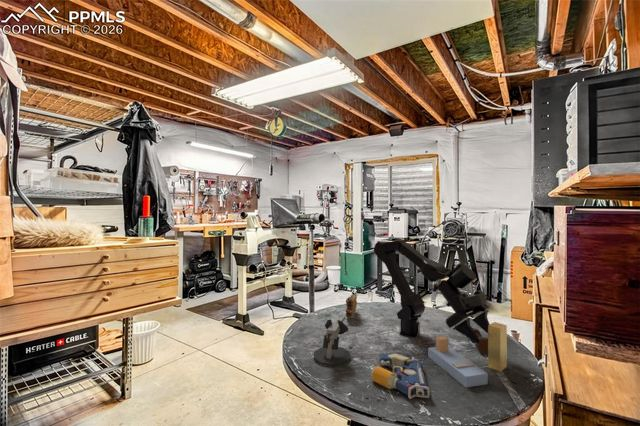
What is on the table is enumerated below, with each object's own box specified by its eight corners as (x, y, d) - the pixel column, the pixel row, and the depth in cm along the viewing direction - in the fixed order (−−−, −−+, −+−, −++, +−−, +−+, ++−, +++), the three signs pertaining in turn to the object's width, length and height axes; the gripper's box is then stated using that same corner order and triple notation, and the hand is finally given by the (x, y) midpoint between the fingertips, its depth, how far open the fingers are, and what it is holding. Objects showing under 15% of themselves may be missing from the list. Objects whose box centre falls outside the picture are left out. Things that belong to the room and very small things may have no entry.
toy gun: (370, 396, 80) (430, 405, 77) (370, 380, 80) (430, 388, 77) (373, 360, 100) (420, 366, 97) (373, 347, 100) (421, 352, 97)
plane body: (428, 356, 101) (428, 335, 101) (446, 354, 103) (446, 333, 102) (465, 387, 83) (465, 362, 83) (487, 384, 85) (487, 359, 85)
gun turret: (358, 343, 111) (358, 308, 111) (345, 371, 92) (345, 328, 92) (325, 339, 115) (325, 305, 115) (306, 364, 96) (306, 323, 96)
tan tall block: (488, 367, 94) (488, 325, 94) (494, 362, 97) (494, 322, 97) (500, 371, 91) (500, 328, 91) (506, 367, 94) (506, 325, 94)
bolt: (472, 340, 118) (487, 357, 103) (460, 333, 119) (473, 349, 104) (480, 327, 118) (496, 343, 103) (467, 320, 118) (482, 335, 103)
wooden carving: (347, 310, 148) (347, 290, 148) (357, 311, 147) (357, 290, 147) (344, 322, 132) (344, 299, 132) (354, 323, 131) (354, 300, 131)
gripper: (455, 287, 95) (492, 334, 87) (483, 279, 106) (518, 320, 98) (432, 305, 101) (464, 351, 93) (461, 296, 113) (491, 335, 104)
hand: (485, 338), depth 97 cm, fingers open, 9 cm apart
